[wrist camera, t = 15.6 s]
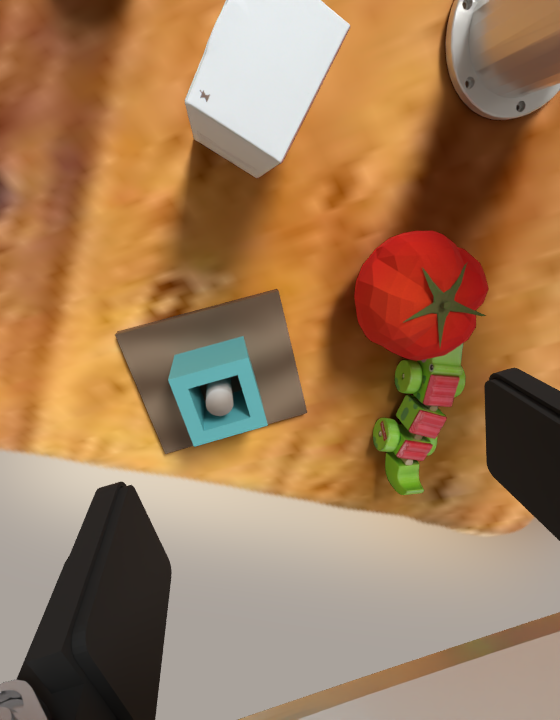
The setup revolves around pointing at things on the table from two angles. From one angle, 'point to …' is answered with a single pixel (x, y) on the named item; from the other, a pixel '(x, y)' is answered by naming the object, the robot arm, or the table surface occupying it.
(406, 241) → the tomato
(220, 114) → the small box
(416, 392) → the toy crocodile
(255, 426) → the bead
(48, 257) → the table surface
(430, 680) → the robot arm
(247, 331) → the post board
